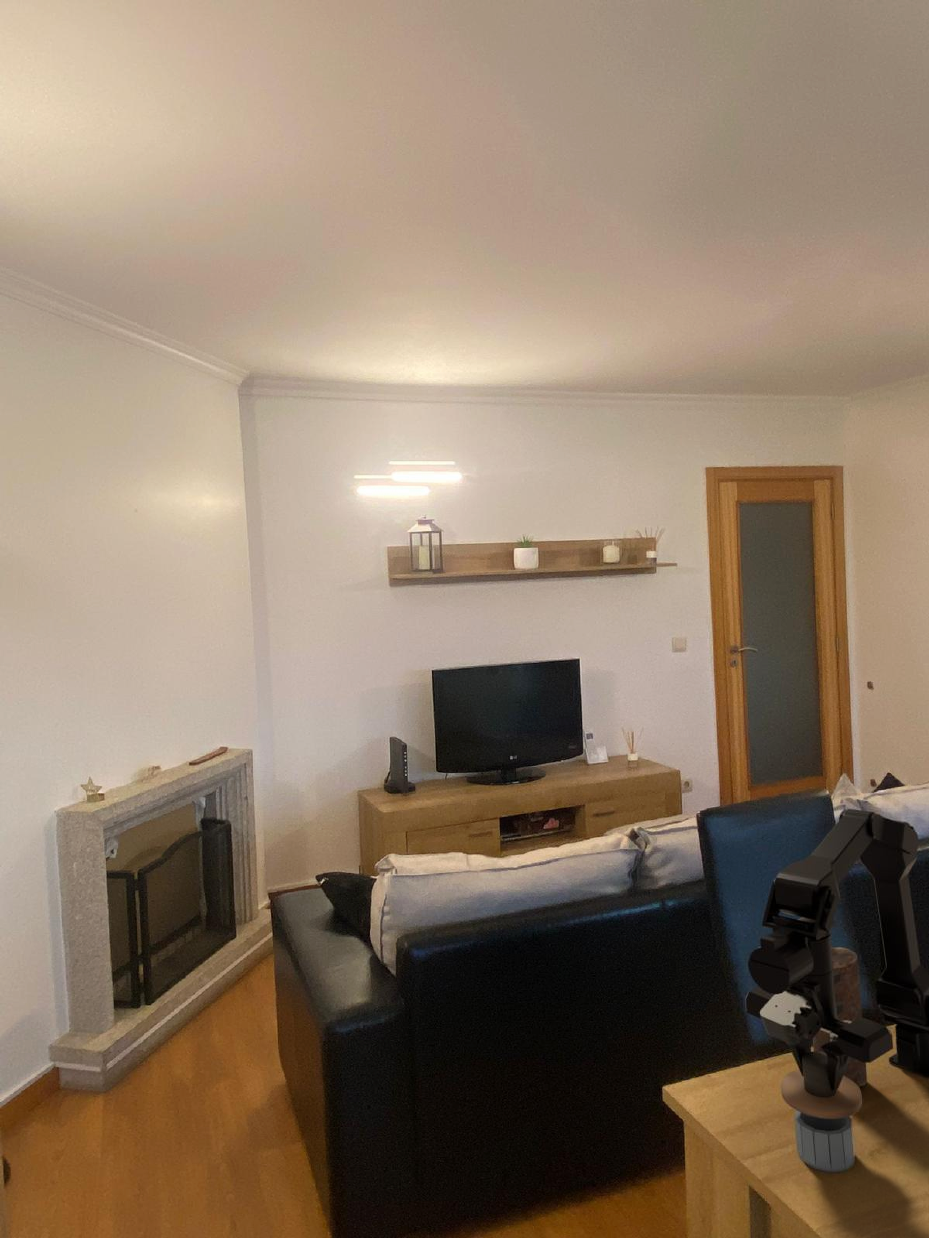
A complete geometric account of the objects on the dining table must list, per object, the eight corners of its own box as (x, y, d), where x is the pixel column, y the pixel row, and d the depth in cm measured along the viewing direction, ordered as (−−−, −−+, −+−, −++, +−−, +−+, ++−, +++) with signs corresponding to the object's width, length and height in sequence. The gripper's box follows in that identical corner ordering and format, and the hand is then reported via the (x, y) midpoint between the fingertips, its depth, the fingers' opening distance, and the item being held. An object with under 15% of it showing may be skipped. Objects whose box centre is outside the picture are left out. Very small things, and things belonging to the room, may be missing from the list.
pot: (818, 1132, 118) (815, 1096, 118) (865, 1156, 112) (862, 1119, 112) (786, 1152, 114) (783, 1116, 114) (833, 1179, 108) (830, 1140, 108)
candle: (874, 1098, 125) (862, 963, 125) (821, 1096, 126) (810, 963, 126) (860, 1070, 132) (850, 943, 132) (811, 1069, 134) (800, 943, 134)
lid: (808, 1067, 120) (805, 1032, 120) (877, 1096, 112) (873, 1059, 112) (766, 1095, 114) (762, 1059, 114) (835, 1128, 106) (832, 1088, 106)
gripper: (714, 963, 117) (724, 1075, 117) (837, 1010, 101) (848, 1140, 101) (766, 940, 123) (775, 1047, 123) (890, 981, 107) (900, 1104, 107)
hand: (820, 1082), depth 113 cm, fingers closed on lid, 4 cm apart
